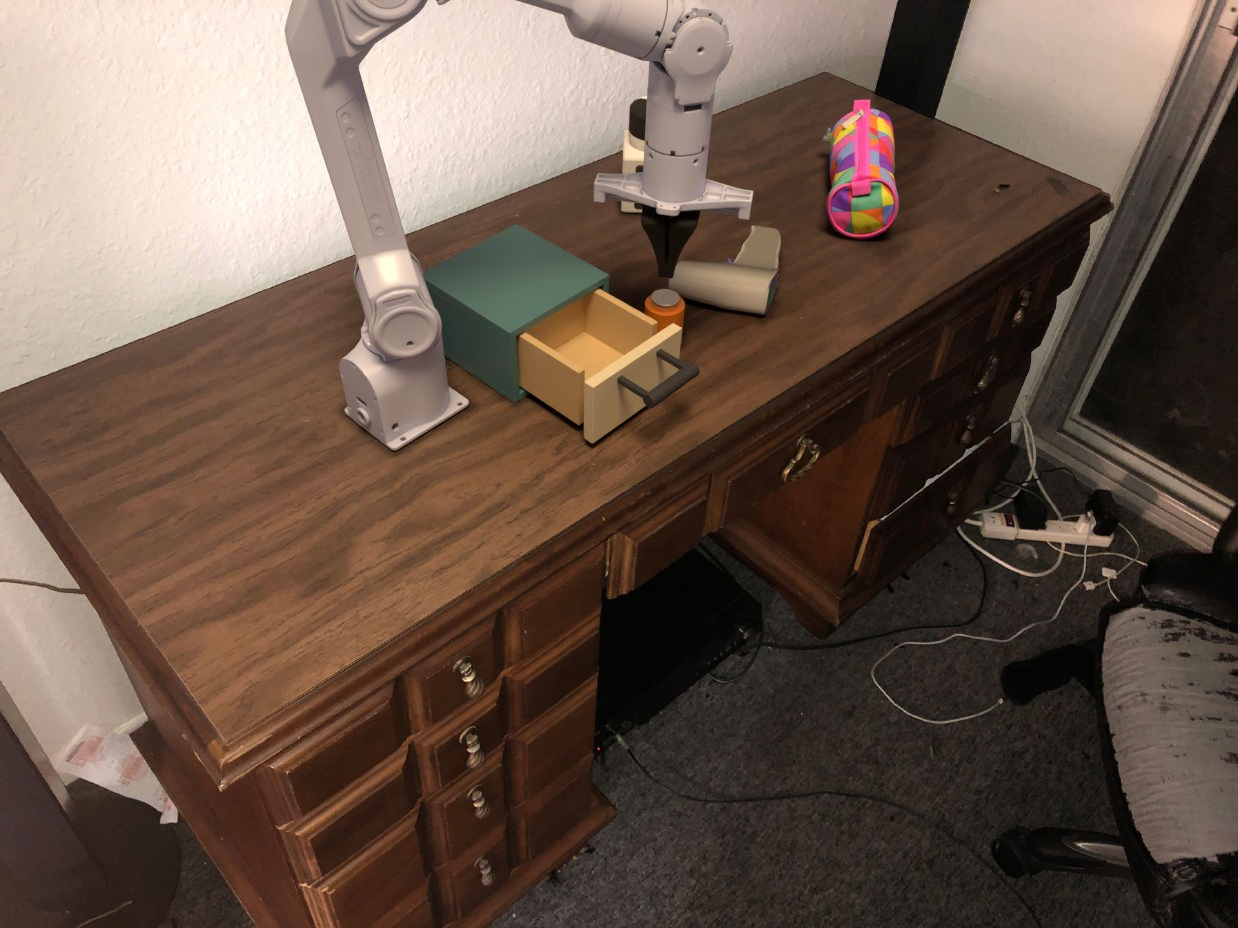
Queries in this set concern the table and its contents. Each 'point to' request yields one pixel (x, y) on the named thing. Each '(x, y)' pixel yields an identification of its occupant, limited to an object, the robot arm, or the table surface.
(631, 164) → the container
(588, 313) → the drawer
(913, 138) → the table surface
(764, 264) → the infrared thermometer
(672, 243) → the robot arm
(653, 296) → the orange cylinder
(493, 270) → the cabinet
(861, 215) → the pencil case
